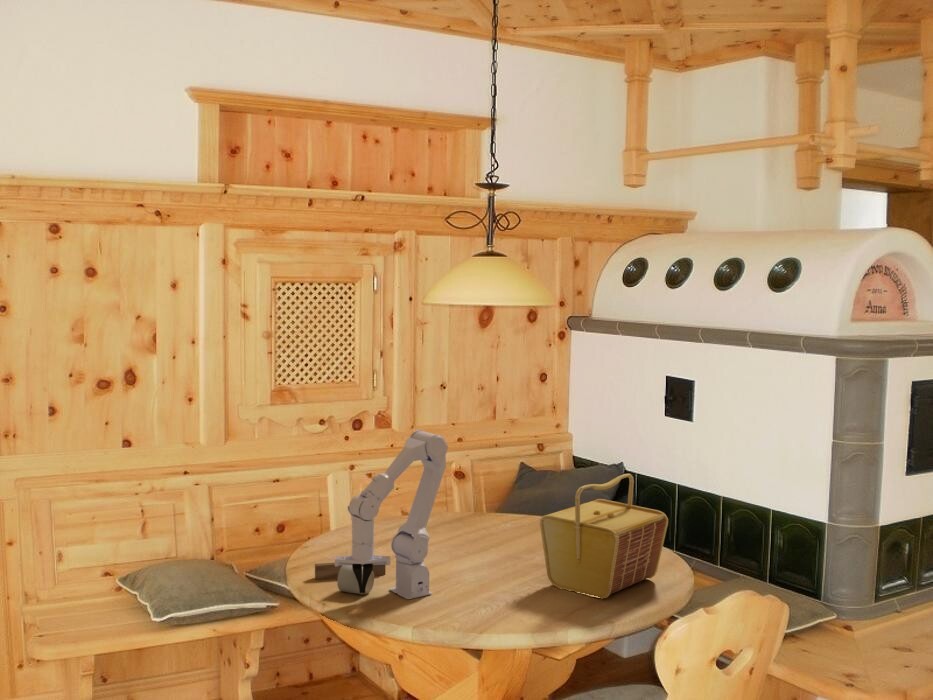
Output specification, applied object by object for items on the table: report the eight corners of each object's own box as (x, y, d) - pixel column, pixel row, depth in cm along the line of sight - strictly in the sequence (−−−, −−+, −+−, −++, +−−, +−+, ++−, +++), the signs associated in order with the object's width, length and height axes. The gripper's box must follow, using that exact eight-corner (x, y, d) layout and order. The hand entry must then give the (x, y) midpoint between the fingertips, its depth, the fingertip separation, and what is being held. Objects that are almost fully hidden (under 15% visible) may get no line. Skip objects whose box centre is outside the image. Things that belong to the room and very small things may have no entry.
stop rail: (385, 574, 288) (385, 561, 288) (315, 579, 283) (315, 565, 282) (383, 572, 290) (384, 559, 290) (314, 577, 285) (314, 563, 284)
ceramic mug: (363, 598, 268) (364, 570, 267) (336, 594, 271) (336, 566, 270) (380, 587, 278) (381, 560, 277) (354, 583, 281) (354, 556, 280)
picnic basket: (592, 562, 304) (596, 465, 302) (668, 581, 288) (672, 478, 285) (535, 585, 282) (538, 480, 280) (613, 607, 266) (617, 496, 263)
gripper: (389, 536, 268) (388, 586, 270) (334, 537, 266) (334, 587, 268) (391, 544, 261) (390, 594, 263) (335, 545, 260) (334, 596, 261)
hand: (362, 591), depth 265 cm, fingers closed
